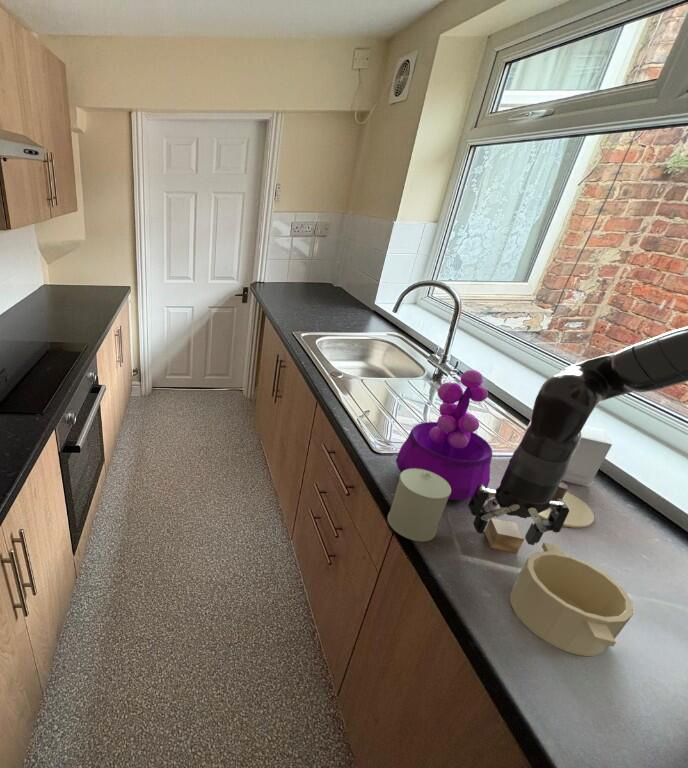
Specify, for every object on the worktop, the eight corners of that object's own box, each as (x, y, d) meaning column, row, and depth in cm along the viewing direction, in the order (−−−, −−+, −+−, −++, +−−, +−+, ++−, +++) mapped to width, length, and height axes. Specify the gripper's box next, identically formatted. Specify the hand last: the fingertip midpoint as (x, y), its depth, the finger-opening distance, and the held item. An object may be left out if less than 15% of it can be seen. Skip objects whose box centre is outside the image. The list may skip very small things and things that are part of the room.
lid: (573, 493, 96) (585, 472, 93) (605, 537, 85) (619, 514, 82) (503, 480, 100) (512, 460, 98) (524, 520, 89) (535, 498, 86)
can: (437, 520, 89) (454, 476, 84) (433, 548, 83) (450, 503, 77) (391, 503, 94) (403, 460, 89) (383, 529, 87) (396, 485, 82)
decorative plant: (391, 495, 96) (425, 380, 83) (393, 452, 111) (421, 348, 98) (488, 521, 89) (542, 399, 75) (476, 471, 104) (519, 361, 90)
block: (508, 538, 85) (516, 522, 83) (516, 555, 81) (524, 539, 79) (483, 533, 86) (490, 517, 84) (489, 549, 82) (497, 533, 80)
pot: (576, 583, 75) (597, 550, 71) (635, 686, 60) (666, 651, 56) (495, 564, 79) (511, 532, 75) (531, 657, 64) (553, 622, 60)
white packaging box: (588, 489, 97) (613, 445, 92) (548, 478, 101) (570, 435, 95) (582, 472, 103) (605, 429, 97) (544, 462, 106) (564, 420, 101)
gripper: (495, 475, 74) (466, 541, 81) (594, 493, 70) (555, 560, 77) (482, 451, 80) (457, 514, 87) (573, 466, 76) (538, 531, 83)
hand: (503, 536), depth 82 cm, fingers open, 8 cm apart
